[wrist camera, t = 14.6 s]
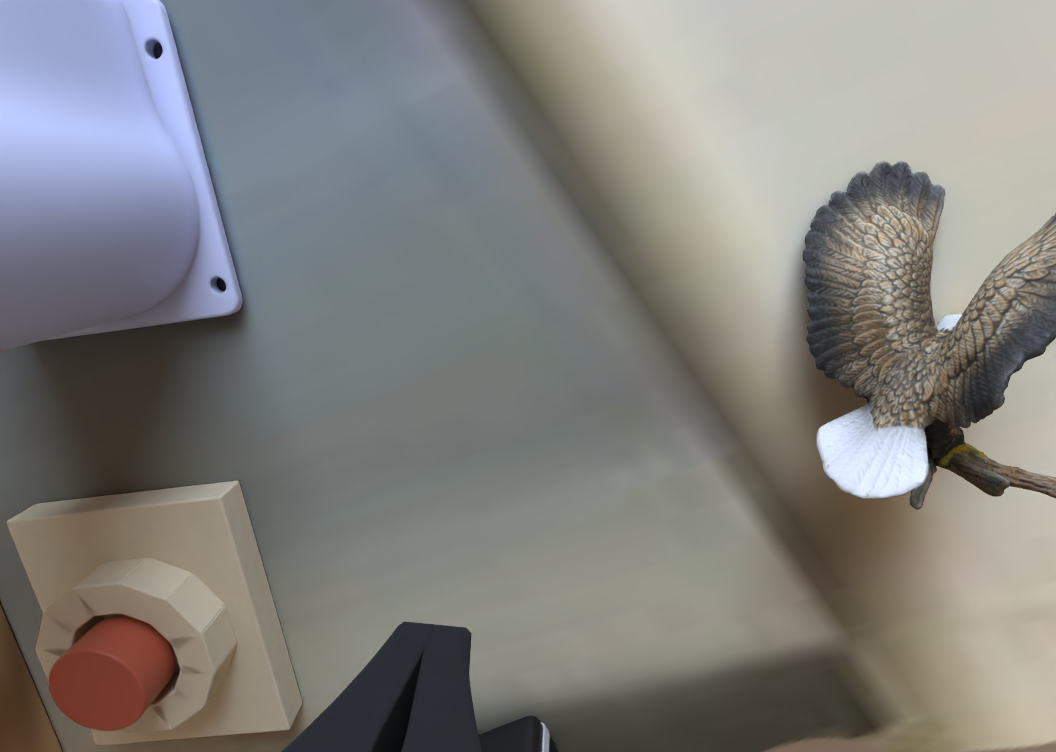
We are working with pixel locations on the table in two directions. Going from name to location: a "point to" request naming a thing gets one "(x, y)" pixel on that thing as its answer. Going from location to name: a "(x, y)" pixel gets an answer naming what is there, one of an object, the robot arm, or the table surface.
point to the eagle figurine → (916, 339)
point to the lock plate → (20, 702)
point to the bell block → (167, 602)
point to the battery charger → (518, 737)
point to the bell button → (112, 673)
